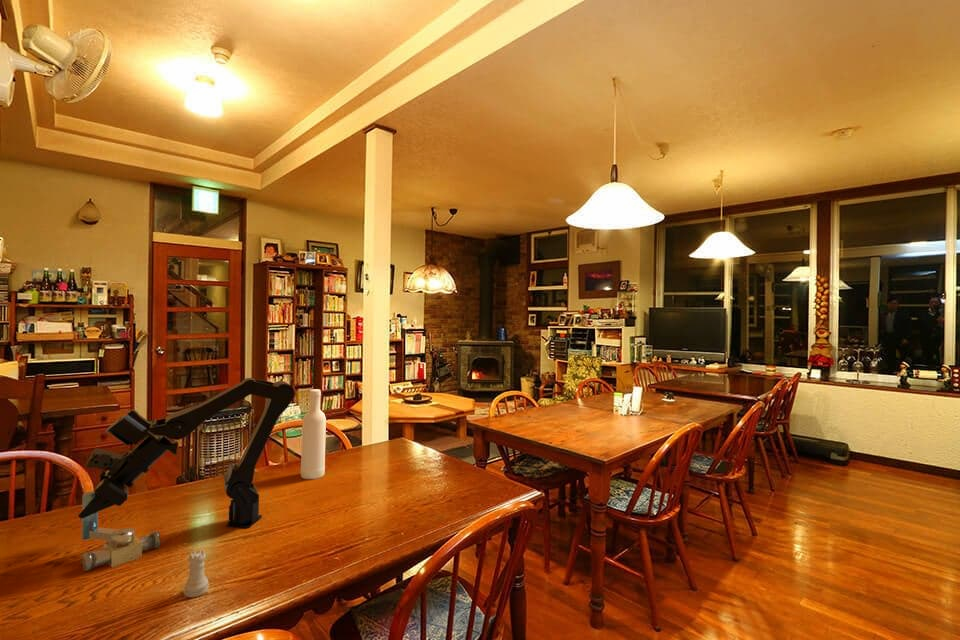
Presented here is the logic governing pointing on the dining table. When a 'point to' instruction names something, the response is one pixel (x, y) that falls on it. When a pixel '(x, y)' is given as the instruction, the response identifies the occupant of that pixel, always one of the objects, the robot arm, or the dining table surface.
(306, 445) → the bottle
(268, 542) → the dining table surface
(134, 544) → the valve body
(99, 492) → the robot arm
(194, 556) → the rook chess piece
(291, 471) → the dining table surface
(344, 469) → the dining table surface
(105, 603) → the dining table surface
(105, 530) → the lever
